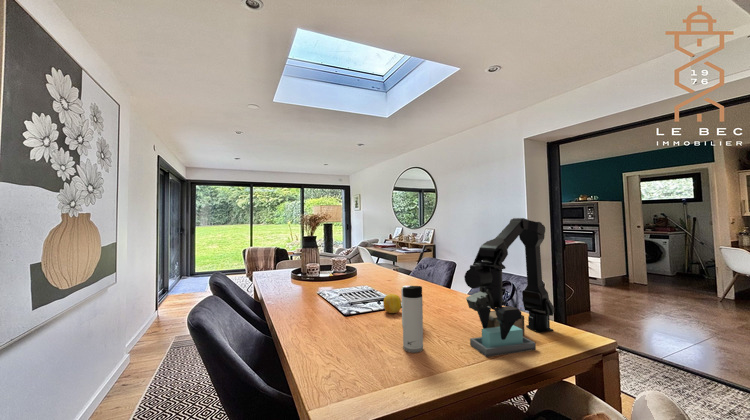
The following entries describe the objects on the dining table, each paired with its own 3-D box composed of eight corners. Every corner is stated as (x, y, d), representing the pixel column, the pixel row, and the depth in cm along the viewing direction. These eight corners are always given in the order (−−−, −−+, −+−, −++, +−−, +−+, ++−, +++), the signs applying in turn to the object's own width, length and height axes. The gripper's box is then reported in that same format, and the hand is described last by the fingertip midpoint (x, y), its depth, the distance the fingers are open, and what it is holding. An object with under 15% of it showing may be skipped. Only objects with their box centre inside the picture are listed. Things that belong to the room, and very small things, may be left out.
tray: (516, 339, 102) (516, 332, 102) (535, 349, 94) (535, 342, 94) (470, 345, 97) (470, 338, 97) (486, 357, 89) (486, 349, 89)
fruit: (381, 310, 135) (380, 292, 136) (398, 308, 137) (397, 291, 138) (386, 316, 127) (386, 297, 127) (404, 314, 129) (404, 296, 129)
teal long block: (514, 340, 99) (513, 325, 99) (522, 345, 95) (522, 329, 95) (482, 344, 96) (481, 328, 96) (489, 349, 92) (489, 333, 92)
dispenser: (508, 328, 112) (508, 309, 112) (524, 336, 104) (524, 315, 105) (481, 331, 109) (481, 311, 109) (495, 339, 102) (495, 318, 102)
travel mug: (411, 355, 91) (410, 288, 91) (399, 347, 97) (398, 284, 97) (427, 350, 94) (426, 286, 94) (415, 343, 99) (414, 282, 100)
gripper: (454, 279, 102) (455, 326, 102) (488, 292, 84) (489, 349, 84) (483, 278, 105) (484, 323, 105) (522, 290, 87) (523, 344, 87)
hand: (493, 333), depth 95 cm, fingers open, 9 cm apart
